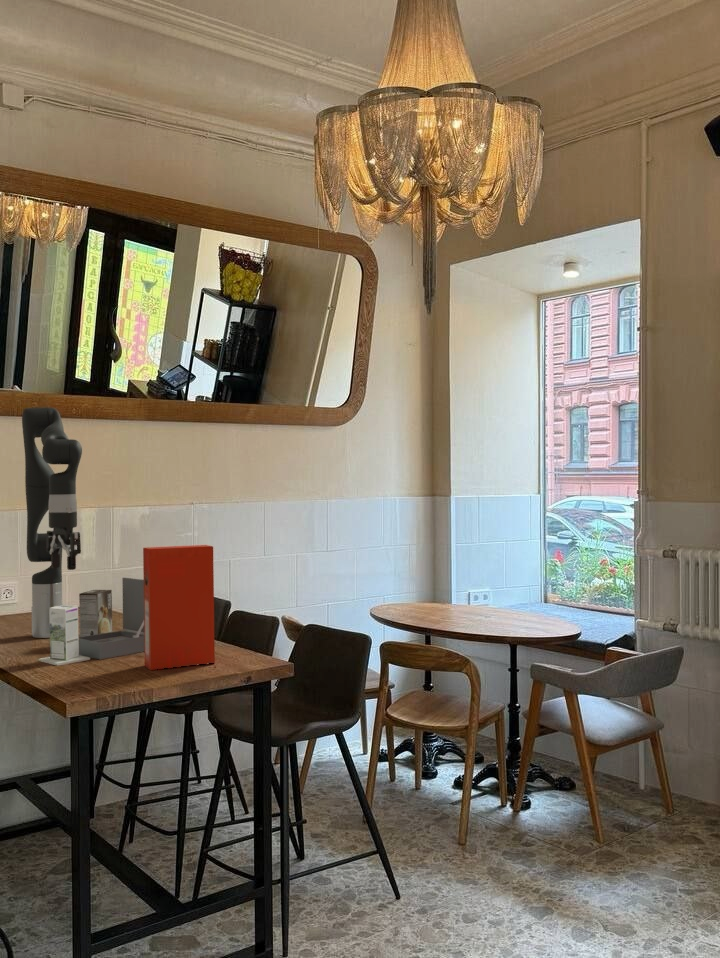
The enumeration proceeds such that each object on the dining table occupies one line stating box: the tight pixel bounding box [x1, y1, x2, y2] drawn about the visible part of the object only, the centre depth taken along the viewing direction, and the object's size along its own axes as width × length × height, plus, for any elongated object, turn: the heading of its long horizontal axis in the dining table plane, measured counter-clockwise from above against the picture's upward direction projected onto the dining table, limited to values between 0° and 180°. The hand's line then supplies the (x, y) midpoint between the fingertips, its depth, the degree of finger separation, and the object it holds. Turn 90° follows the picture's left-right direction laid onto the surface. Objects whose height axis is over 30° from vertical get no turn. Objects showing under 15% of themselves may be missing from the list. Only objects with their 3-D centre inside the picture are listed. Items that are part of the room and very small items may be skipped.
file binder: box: [142, 544, 216, 671], centre depth 241 cm, size 8×17×32 cm, turn 116°
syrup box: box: [49, 604, 79, 660], centre depth 248 cm, size 6×6×14 cm
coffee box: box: [78, 589, 113, 637], centre depth 274 cm, size 9×6×16 cm
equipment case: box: [78, 577, 145, 661], centre depth 260 cm, size 14×17×20 cm
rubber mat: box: [38, 655, 91, 666], centre depth 248 cm, size 10×10×1 cm
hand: (63, 568), depth 248 cm, fingers open, 8 cm apart
